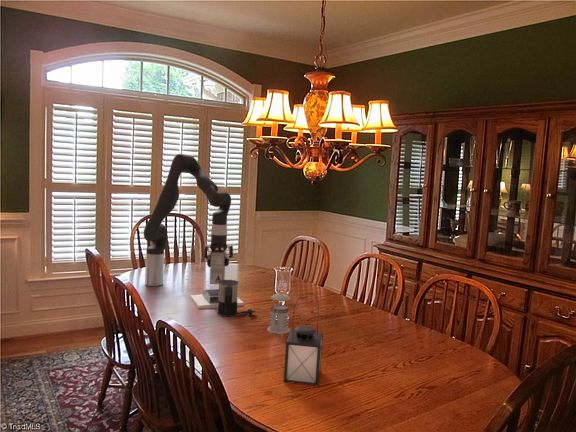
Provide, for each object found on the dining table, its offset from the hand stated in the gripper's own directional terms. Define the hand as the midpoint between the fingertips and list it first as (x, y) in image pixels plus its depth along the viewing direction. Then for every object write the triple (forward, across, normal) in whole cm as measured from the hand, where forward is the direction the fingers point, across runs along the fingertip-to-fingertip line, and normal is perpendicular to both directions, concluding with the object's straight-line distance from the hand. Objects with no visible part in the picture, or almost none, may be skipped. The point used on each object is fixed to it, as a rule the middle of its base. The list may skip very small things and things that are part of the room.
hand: (217, 266), depth 228 cm
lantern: (+18, -5, +87) cm, 89 cm away
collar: (+16, 0, 0) cm, 16 cm away
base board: (+18, 0, 0) cm, 18 cm away
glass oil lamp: (+18, -14, +45) cm, 50 cm away
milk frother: (+18, -3, +21) cm, 28 cm away
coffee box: (+8, 0, 0) cm, 8 cm away
